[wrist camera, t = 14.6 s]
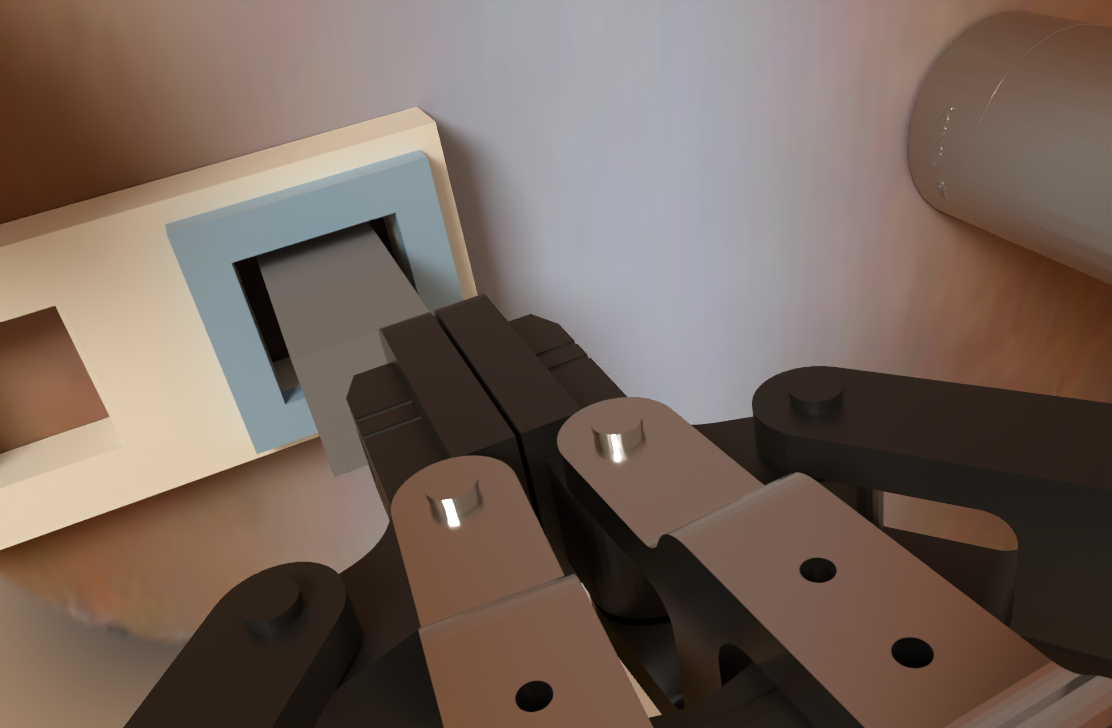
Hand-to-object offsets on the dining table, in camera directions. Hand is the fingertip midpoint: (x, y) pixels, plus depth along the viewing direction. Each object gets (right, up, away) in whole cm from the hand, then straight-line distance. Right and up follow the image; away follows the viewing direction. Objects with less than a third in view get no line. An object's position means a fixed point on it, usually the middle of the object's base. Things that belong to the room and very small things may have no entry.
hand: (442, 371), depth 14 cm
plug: (-7, +3, +23) cm, 24 cm away
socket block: (-12, +2, +22) cm, 25 cm away
